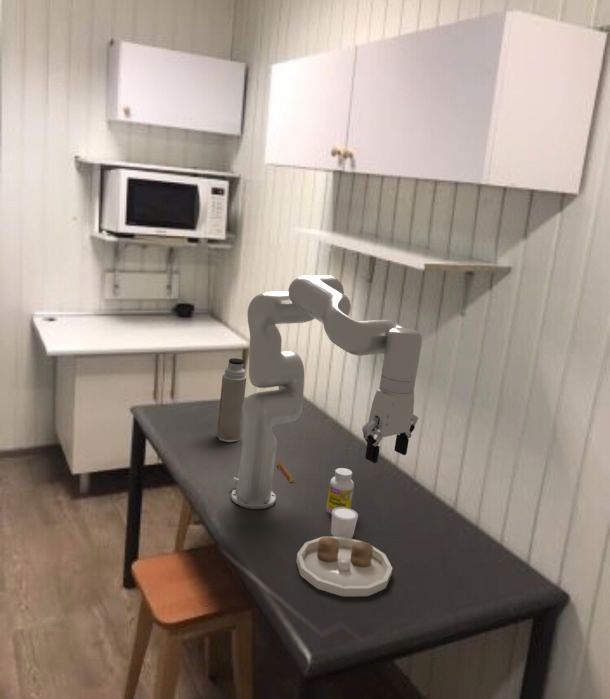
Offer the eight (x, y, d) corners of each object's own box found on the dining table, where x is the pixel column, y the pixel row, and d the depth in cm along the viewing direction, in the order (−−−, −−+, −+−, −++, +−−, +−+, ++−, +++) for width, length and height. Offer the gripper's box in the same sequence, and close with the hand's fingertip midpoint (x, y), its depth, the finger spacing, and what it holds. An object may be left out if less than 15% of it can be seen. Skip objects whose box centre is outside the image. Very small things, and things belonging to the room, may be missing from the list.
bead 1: (312, 554, 168) (314, 540, 167) (327, 549, 171) (329, 534, 170) (326, 564, 164) (328, 549, 163) (341, 558, 167) (343, 544, 166)
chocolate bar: (287, 484, 207) (288, 477, 207) (275, 467, 218) (275, 460, 218) (295, 483, 208) (296, 476, 208) (282, 466, 219) (283, 460, 218)
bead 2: (346, 559, 167) (348, 544, 166) (360, 554, 171) (362, 539, 170) (360, 569, 164) (362, 554, 163) (374, 563, 167) (377, 549, 166)
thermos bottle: (214, 440, 232) (221, 360, 225) (220, 432, 240) (227, 355, 233) (237, 444, 231) (245, 364, 224) (242, 435, 239) (250, 358, 232)
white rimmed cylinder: (353, 531, 183) (356, 508, 181) (355, 545, 176) (359, 520, 175) (327, 529, 183) (331, 505, 181) (329, 543, 176) (332, 518, 174)
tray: (278, 562, 164) (279, 551, 164) (344, 538, 179) (345, 528, 178) (341, 611, 149) (343, 599, 148) (408, 581, 163) (410, 570, 162)
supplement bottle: (322, 515, 190) (328, 472, 187) (330, 505, 196) (335, 464, 193) (345, 521, 188) (351, 478, 185) (352, 511, 194) (358, 470, 191)
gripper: (409, 375, 159) (398, 444, 163) (357, 383, 147) (347, 457, 151) (435, 385, 153) (423, 456, 157) (383, 394, 142) (371, 470, 146)
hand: (385, 456), depth 154 cm, fingers open, 9 cm apart
